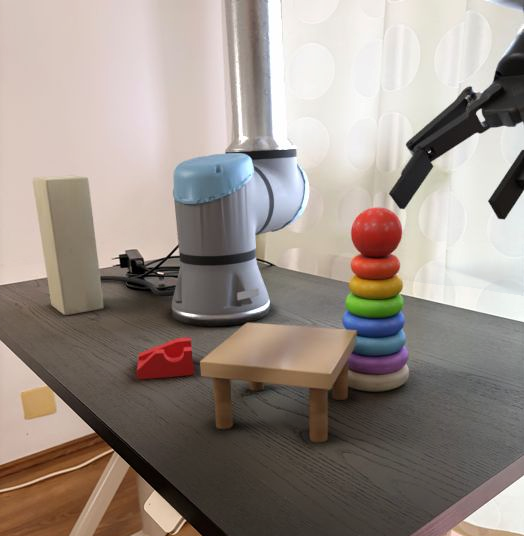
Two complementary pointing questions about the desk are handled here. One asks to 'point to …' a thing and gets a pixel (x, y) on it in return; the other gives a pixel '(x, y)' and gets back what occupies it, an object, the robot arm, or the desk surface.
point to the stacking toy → (376, 304)
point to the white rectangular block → (68, 243)
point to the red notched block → (166, 360)
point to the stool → (282, 366)
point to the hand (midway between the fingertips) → (442, 205)
